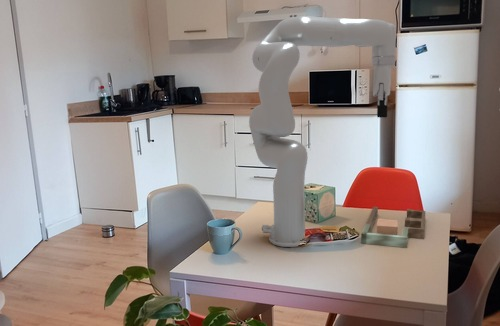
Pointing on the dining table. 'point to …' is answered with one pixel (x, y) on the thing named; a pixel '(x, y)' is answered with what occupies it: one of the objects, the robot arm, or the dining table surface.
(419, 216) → the box
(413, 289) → the dining table surface
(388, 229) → the block
